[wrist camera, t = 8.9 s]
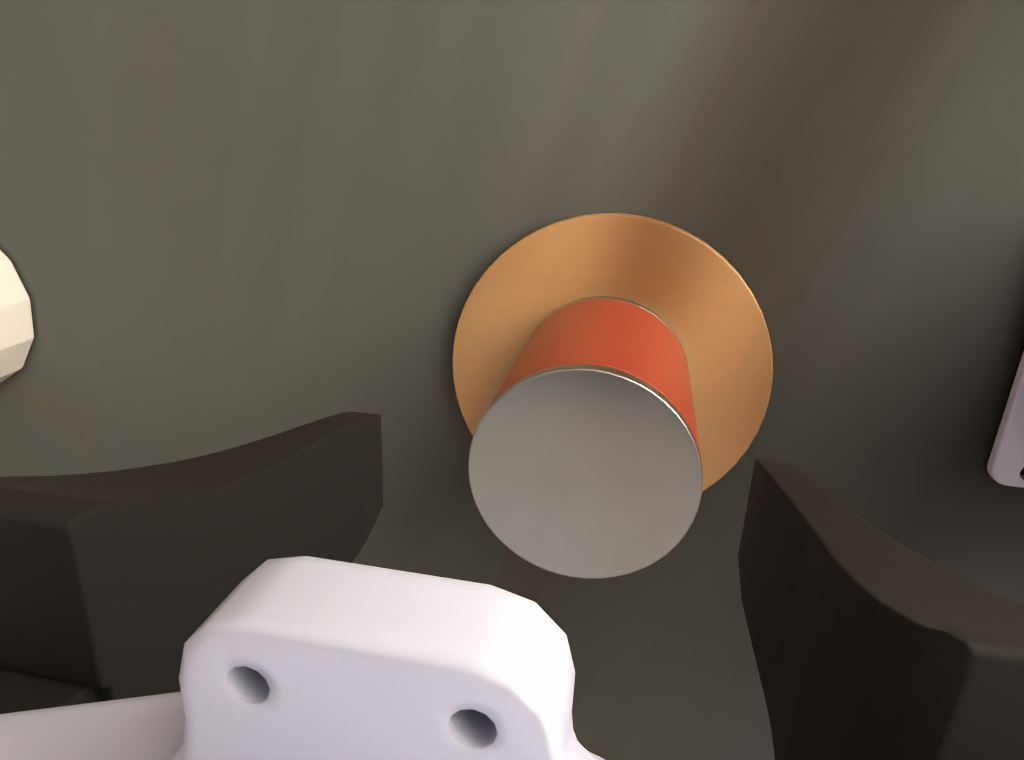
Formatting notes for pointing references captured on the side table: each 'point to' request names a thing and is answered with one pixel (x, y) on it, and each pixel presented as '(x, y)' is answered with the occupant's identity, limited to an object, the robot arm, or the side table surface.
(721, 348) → the cork coaster
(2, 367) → the white cup
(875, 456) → the side table surface
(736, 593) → the side table surface
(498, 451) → the tin can
